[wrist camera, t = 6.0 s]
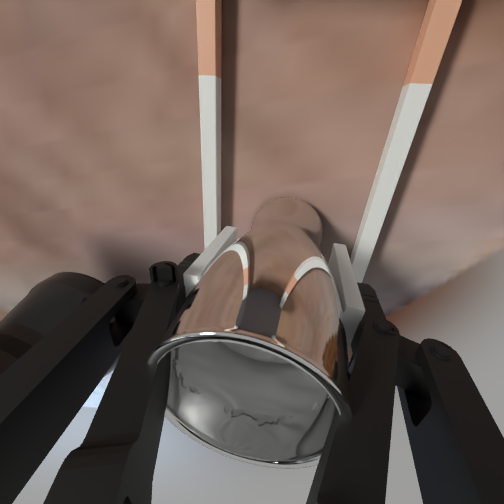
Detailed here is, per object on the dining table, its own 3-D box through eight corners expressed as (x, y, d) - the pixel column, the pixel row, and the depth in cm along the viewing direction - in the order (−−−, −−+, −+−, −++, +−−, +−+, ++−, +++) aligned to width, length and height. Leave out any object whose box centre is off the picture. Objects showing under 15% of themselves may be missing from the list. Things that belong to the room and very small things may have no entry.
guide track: (353, 292, 22) (363, 331, 18) (210, 266, 24) (188, 295, 20) (509, -163, 10) (657, -383, 6) (201, -128, 12) (142, -265, 8)
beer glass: (257, 180, 19) (133, 291, 6) (342, 205, 18) (419, 391, 5) (240, 252, 22) (139, 424, 9) (311, 275, 22) (310, 494, 9)
